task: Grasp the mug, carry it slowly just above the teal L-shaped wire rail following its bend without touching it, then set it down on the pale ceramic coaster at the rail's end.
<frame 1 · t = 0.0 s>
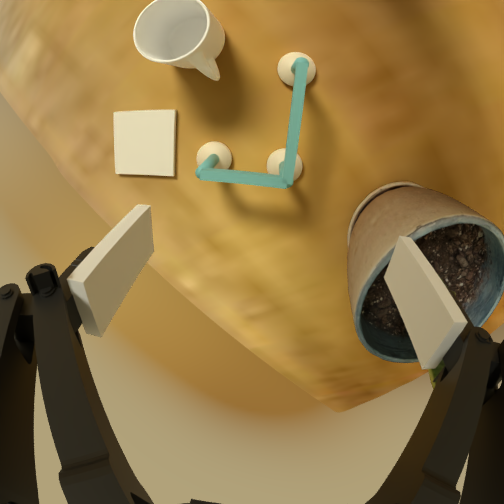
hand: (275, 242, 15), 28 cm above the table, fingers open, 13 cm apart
potted plant: (391, 225, 43), on the table
wire course: (254, 113, 36), on the table
coaster: (144, 142, 39), on the table
mug: (201, 50, 32), on the table
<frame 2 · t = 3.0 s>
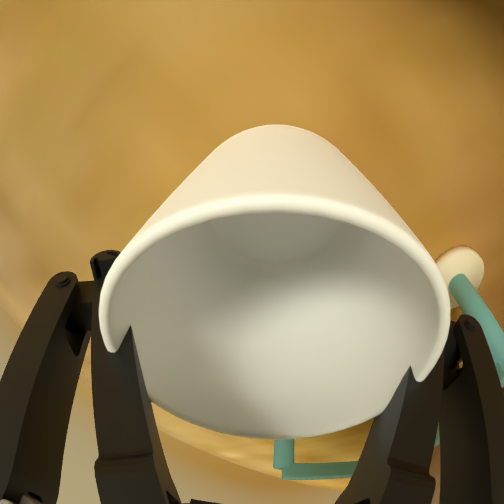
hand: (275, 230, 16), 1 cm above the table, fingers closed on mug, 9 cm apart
potted plant: (470, 403, 28), on the table
wire course: (363, 343, 21), on the table
mug: (291, 225, 16), on the table, touching gripper
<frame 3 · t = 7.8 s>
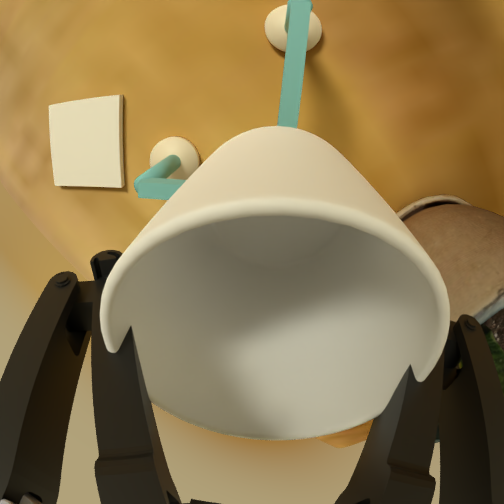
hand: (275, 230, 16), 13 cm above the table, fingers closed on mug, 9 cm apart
potted plant: (422, 253, 31), on the table
wire course: (230, 93, 24), on the table
coaster: (85, 142, 26), on the table
mug: (291, 226, 16), point 13 cm above the table, touching gripper
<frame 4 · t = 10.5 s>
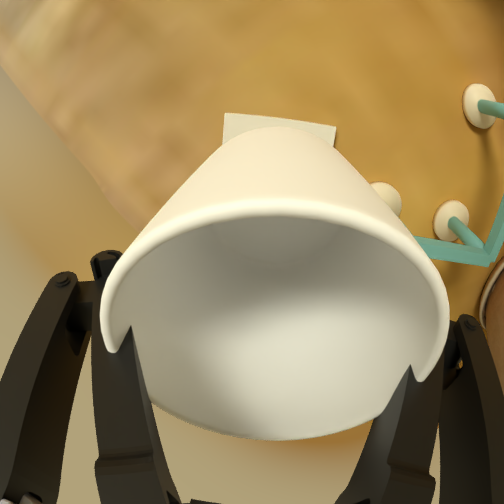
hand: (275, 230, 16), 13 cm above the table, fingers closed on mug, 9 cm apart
wire course: (433, 151, 24), on the table
coaster: (274, 168, 27), on the table
mug: (291, 226, 16), point 12 cm above the table, touching gripper
when the fingers open (3 cm above the table, at t = 12.7 s): mug drops 1 cm, resting on coaster.
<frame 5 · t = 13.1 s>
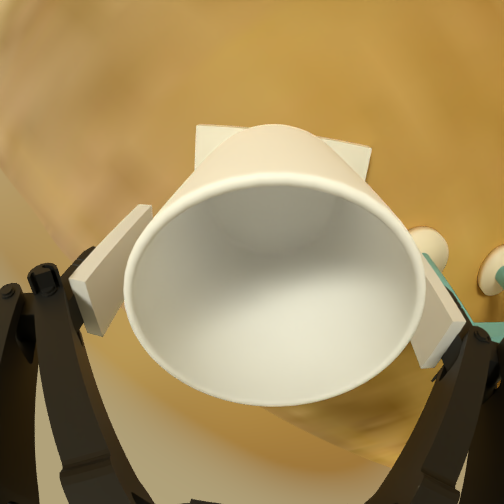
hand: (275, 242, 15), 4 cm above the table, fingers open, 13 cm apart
wire course: (491, 184, 15), on the table
coaster: (275, 209, 18), on the table
mug: (286, 216, 18), point 1 cm above the table, touching coaster
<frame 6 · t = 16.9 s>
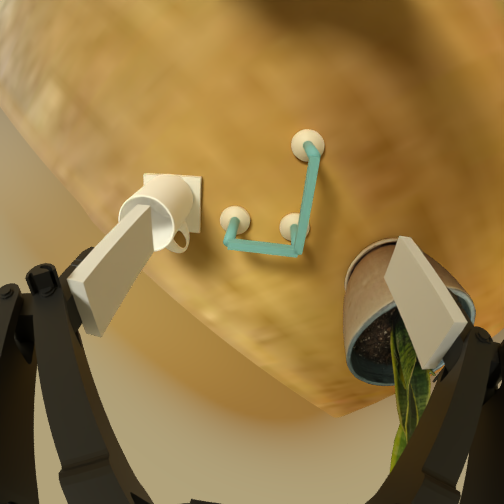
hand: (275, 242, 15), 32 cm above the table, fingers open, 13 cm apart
potted plant: (382, 270, 52), on the table
wire course: (269, 183, 45), on the table
coaster: (172, 202, 48), on the table
mug: (175, 204, 48), point 1 cm above the table, touching coaster
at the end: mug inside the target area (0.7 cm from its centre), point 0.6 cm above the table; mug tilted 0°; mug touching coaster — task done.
